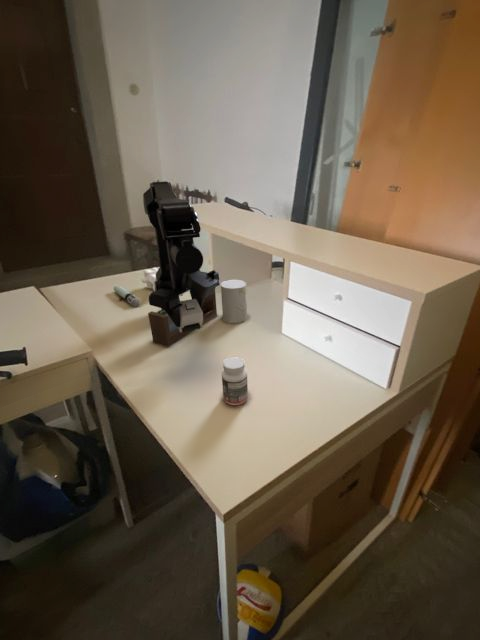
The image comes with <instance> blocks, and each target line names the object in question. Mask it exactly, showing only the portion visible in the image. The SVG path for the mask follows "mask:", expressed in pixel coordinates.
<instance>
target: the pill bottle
mask: <svg viewBox="0 0 480 640" xmlns="http://www.w3.org/2000/svg"><path fill="white" fill-rule="evenodd" d="M245 365H246V364H245V360H244V359H243V358H241V357H236V356H231V357H227V358H226V359H224V361H223V362H222V369H223V370H222V371H221V381H222V382H221V385H222V397H223V401H224V402H225V403H227V404H228V405H231V406H238V405H242V404H244V403H245V402H246V401H247V400H248V397H249V393H248V392H249V390H248V372H247V369H246V368H245V367H246V366H245Z"/></svg>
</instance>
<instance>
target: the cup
mask: <svg viewBox="0 0 480 640" xmlns="http://www.w3.org/2000/svg"><path fill="white" fill-rule="evenodd" d="M220 294H221V308H222V309H221V310H222V320H223V321H224V322H225V323H230V324H239V323H244V322H245V321H247V319H248V306H247V304H248V302H247V301H248V300H247V299H248V298H247V282H246V281H245V280H241V279H228V280H223V281H222V282H221V283H220Z"/></svg>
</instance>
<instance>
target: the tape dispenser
mask: <svg viewBox="0 0 480 640" xmlns="http://www.w3.org/2000/svg"><path fill="white" fill-rule="evenodd" d="M179 303H181V304H183V305H182V306H181V307H180V309H179V312H180V327H178V328H179V331H180V332H182V333H183V332H187V331H192V330H195V331H196V330H200V329H202V328H203V325H202V323H203V312H202V310H201V308H200V306H199V304H198V302H197V300H196V299H192V298H191V299H186V300H185V299H184V300H180V302H179Z"/></svg>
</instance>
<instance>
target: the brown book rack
mask: <svg viewBox="0 0 480 640" xmlns="http://www.w3.org/2000/svg"><path fill="white" fill-rule="evenodd" d="M217 310H218V309H217V298H216V291H215V292H214V294H211V295H209V296H208V297H207V298H205V300H204V303H203V307H202V312H203V323H202V326H205V325H206V324H208V323H209V322H210V321H212V320H213V319H216V318H217V317H218V311H217ZM147 316H148V321H149V326H150V331H151V338H152V342H153V343H154V344H158V345H161V346H164V347H167V348H169V347H171V346H172V345H174V344H176V343H178V342H179V341H180V340H182V339H184V338H185V337H187V336H188V335H190V334H191V333H193V332H195V331H196V330H192V331H187V332H183V333H182V332H180V331H179V328H178V327H176V326H175V324H174V323H173V321H172V320H171V318H170V317H169V316H168V314H166V315H163V314H160V313H159V312H156V311H153V310H152V311H149V312H148V313H147Z"/></svg>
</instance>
